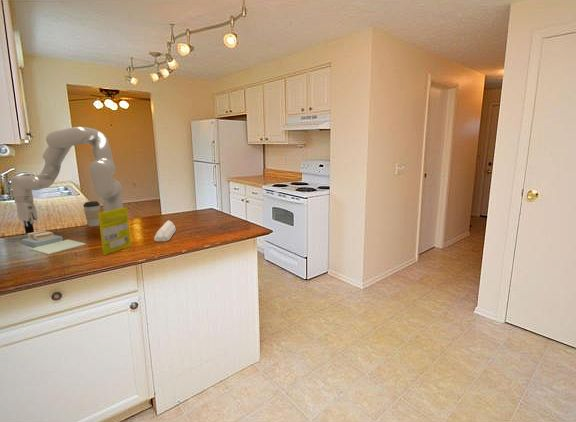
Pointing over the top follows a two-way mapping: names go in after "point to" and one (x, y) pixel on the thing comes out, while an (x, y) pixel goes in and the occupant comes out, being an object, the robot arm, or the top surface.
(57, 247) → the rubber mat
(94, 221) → the coffee cup
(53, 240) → the block
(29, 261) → the top surface
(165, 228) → the crystal
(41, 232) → the birch tile
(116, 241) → the food package
